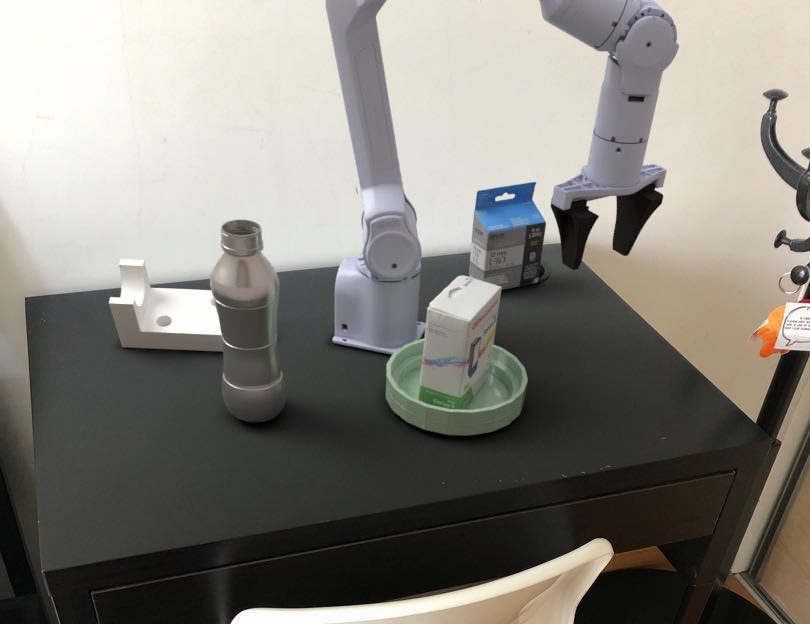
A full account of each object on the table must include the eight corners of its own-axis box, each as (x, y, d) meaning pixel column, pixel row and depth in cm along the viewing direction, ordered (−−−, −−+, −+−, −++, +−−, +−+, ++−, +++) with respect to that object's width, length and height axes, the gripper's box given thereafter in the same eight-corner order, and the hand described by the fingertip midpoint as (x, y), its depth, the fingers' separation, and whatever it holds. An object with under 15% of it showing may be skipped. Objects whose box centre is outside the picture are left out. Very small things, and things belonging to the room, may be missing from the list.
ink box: (448, 369, 102) (457, 271, 94) (490, 382, 100) (503, 283, 92) (415, 406, 96) (422, 305, 88) (460, 420, 94) (471, 318, 86)
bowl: (366, 422, 94) (367, 394, 92) (408, 352, 105) (409, 325, 103) (506, 453, 92) (510, 424, 89) (534, 378, 102) (539, 351, 100)
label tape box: (481, 296, 116) (492, 201, 108) (465, 282, 119) (475, 189, 111) (538, 284, 120) (553, 191, 111) (521, 271, 122) (535, 180, 114)
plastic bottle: (261, 438, 91) (247, 250, 78) (210, 415, 94) (188, 229, 80) (300, 409, 96) (293, 225, 82) (250, 388, 98) (235, 206, 85)
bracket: (123, 353, 104) (108, 303, 97) (134, 309, 108) (120, 259, 101) (237, 357, 104) (229, 308, 98) (243, 314, 108) (236, 264, 102)
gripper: (644, 113, 99) (618, 233, 108) (542, 132, 92) (523, 257, 102) (691, 133, 94) (660, 256, 104) (587, 154, 88) (564, 283, 97)
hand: (595, 259), depth 102 cm, fingers open, 7 cm apart
